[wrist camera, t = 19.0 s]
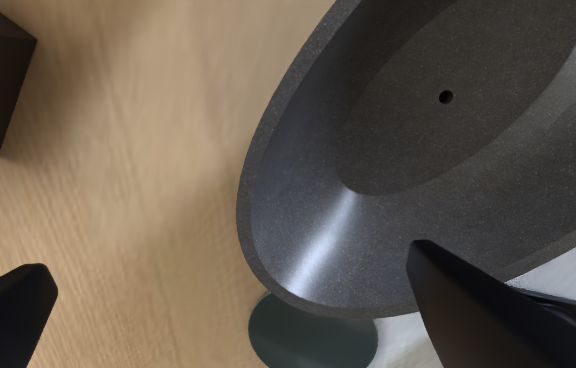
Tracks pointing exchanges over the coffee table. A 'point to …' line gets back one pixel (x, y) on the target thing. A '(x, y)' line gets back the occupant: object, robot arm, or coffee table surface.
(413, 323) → the coffee table surface
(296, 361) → the slate coaster
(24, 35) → the lamp
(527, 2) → the bowl
